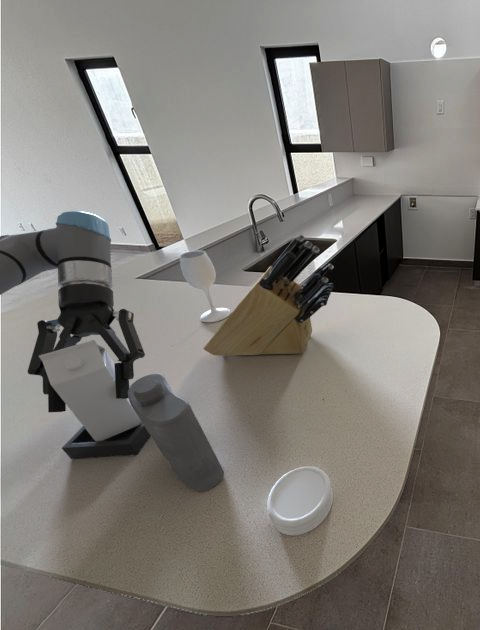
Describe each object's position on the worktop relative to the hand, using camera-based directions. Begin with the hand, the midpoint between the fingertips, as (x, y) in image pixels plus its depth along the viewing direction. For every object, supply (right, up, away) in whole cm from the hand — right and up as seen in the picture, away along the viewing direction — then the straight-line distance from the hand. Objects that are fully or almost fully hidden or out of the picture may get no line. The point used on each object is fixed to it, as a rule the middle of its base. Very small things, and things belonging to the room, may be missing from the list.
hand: (91, 404), depth 60 cm
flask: (+18, -12, +2) cm, 21 cm away
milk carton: (-1, -6, +7) cm, 9 cm away
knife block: (+20, +8, +34) cm, 40 cm away
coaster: (+40, -16, -4) cm, 43 cm away
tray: (-1, -8, +8) cm, 11 cm away
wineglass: (-6, +16, +47) cm, 50 cm away
